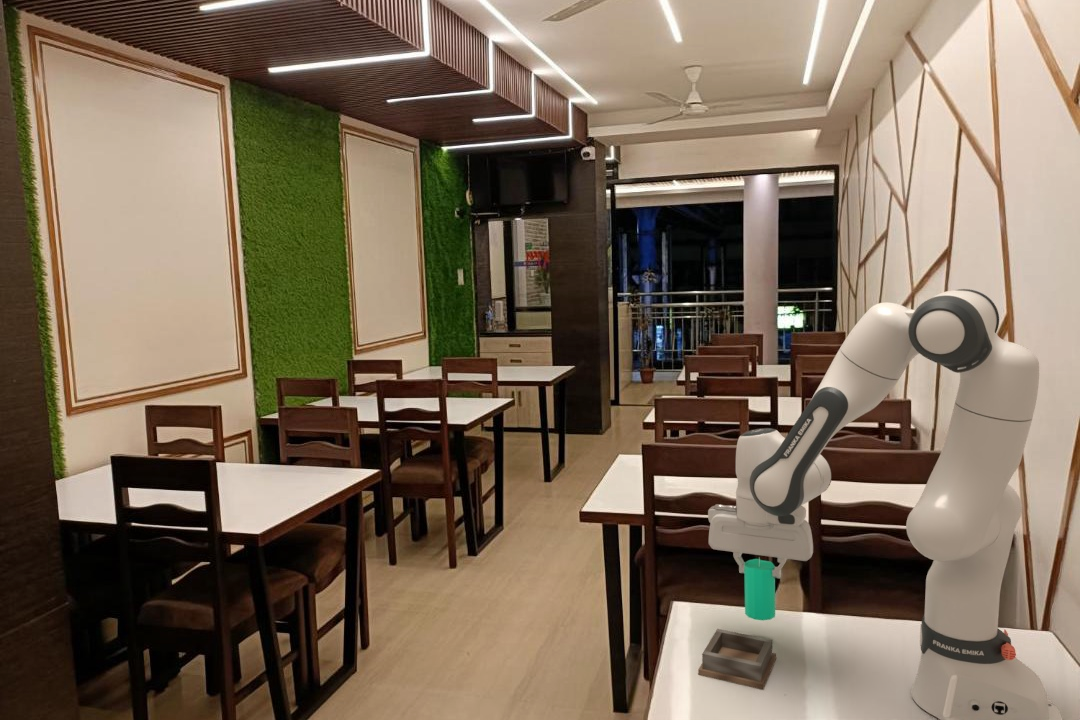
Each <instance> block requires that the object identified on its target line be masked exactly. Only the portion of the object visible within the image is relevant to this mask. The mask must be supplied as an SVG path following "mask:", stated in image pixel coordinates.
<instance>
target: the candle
mask: <svg viewBox="0 0 1080 720" xmlns="http://www.w3.org/2000/svg"><path fill="white" fill-rule="evenodd" d="M744 562H745V565H744V573H743V574H744V577H743V578H744V614H745V616H747V617H748V618H750V619H753V620H756V621H757V620H758V621H769V620H770V621H771V620H772V619H774V618H775V617H776V578H773V577H772V574H773V573H772V570H773V569H774V567H776V566H775V564H774V563H773V562H772V561H769V560H762V559H761V558H760V556H758V558H753V559H749V560H747V561H744Z"/></svg>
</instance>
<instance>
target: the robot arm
mask: <svg viewBox="0 0 1080 720" xmlns="http://www.w3.org/2000/svg"><path fill="white" fill-rule="evenodd" d="M999 326H1000V315H999V310H998V308H997V306H996V304H995V303H994V301H993V300H992V299H991V298H990V297H988V296H987V295H985V293H982V292H980V291H977V290H974V289H968V288H961V289H955V290H954V289H953V290H947V291H944V292H940V293H938V294H936V295H934V296H932V297H931V298H928V299H927V300H925V301H923V302H922V303H921V304H919V306H918V307H917V308H916V309H911V308H908V307H906V306H904V305H902V304H899V303H896V302H887V301H886V302H879V303H876V304H873V305H872V306H871V307H870V308H869V309H868V310H867V311H866V312H865V313H864V314H863V315H862V317H861V318H860V319H859V320H858V321H857V322H856V324H855V325H854V327H852V329H851V331H850V332H849V334H848V335H847V336H846V337H845V339H844V340H843V343H841V345H840V348H839V349H838V350H837V353H836V354H835V356H834V357H833V360H832V361H831V364H830V365H829V367H828V369H827V371H826V373H825V374H824V376H823V378H822V379H821V382H820V384H819V385H818V387H817V389H816V390H815V392H814V394H813V396H811V397H812V398H811V399H810V401H809V402H808V404H807V405H806V407H805V408H804V410H803V411H802V413H801V414H800V415H799V417H798V419H797V420H796V421H795V423H794V425H793V426H792V428H791V429H790V431H789V432H788V434H787V435H786V436H785V437H784V436H783V435H782V434H781V433H780V432H779V431H778V430H777V429H775V428H770V427H764V428H756V429H750V430H747V431H745V432H743V433H742V434H741V435H740V436H739V437H738V440H737V443H736V449H735V475H736V478H737V487H736V491H735V499H736V500H735V501H736V502H735V503H736V504H735V505H730V504H729V505H728V504H727V505H725V504H719V503H717V504H715V505H711V507H710V508H709V509H708V510H707V518H708V522H709V523H710V524H709V531H708V545H709V546H710V548H711V549H713V550H717V551H725V552H732V553H733V555H732V556H733V557H732V558H734V560H735V562H736V563H737V565H738V571H739V573H740V574H744V565H745V562H746V561H744V559H743V556H742V555H743V554H749V555H756V556H763V557H764V556H765V557H771V558H777V563H779V565H778V566H775V567H774V569H773V570H772V573H773V574H772V577H773V578H775V579H781V577H782V568H783V567H784V566H785V564H786V562H787V560H795V561H800V562H801V561H802V562H807V561H808V560H810V559H811V558H812V556H813V553H814V542H813V534H812V529H811V526H810V523H809V522H808V521H807V520H806V517H807V509H806V507H805V506H803V505H805V504H807V503H809V502H811V501H812V500H814V499H815V498H817V497H818V496H820V495H822V494H823V493H824V492H826V491H827V490H828V489H829V487H830V486H831V483H832V468H831V466H830V464H829V462H828V460H827V459H826V457H824V455H822V452H823V450H824V449H825V448H826V446H827V445H828V443H829V442H830V441H831V440H832V438H833V437H834V436H835V435H836V434H837V433H838V432H839V431H840V430H842V429H843V428H844V427H846V426H848V425H849V424H850V423H851V422H853V421H855V420H857V419H858V418H860V417H862V416H864V415H865V414H867V413H869V412H871V411H872V410H874V409H875V408H876V407H877V406H878V405H879V404H880V403H881V402H882V401H883V400H885V399H886V397H887V396H888V395H889V394H890V393H891V392H892V390H893V389H894V388H895V386H896V384H897V383H898V382H899V380H900V378H901V377H902V375H903V374H904V372H905V370H906V369H907V367H908V366H909V364H910V363H911V362H912V360H913V359H914V358H916V356H917V355H919V354H920V355H921V356H922V357H924V358H926V359H928V360H930V361H931V362H934V363H936V364H939V365H940V366H941V367H944V368H946V369H948V370H950V371H951V372H953V373H957V374H958V373H959V384H958V389H957V392H956V397H955V401H954V405H953V409H952V414H951V418H950V421H949V425H948V428H947V433H946V437H945V439H944V440H945V441H944V443H943V447H942V449H941V452H940V453H939V457H938V459H937V461H936V463H935V465H934V466H933V468H932V469H933V470H932V471H931V473H930V475H929V477H928V480H927V482H926V485H925V487H924V489H923V491H922V494H921V496H920V497H919V499H918V501H917V503H915V504H916V505H915V506H914V507H913V508H912V509H911V511H910V512H909V514H908V515H907V520H906V523H905V525H906V526H905V528H906V535H907V537H908V540H910V543H911V544H912V546H913V548H914V549H916V550H917V552H918V553H920V554H921V555H922V556H924V557H925V558H928V559H929V560H931V561H932V560H933V561H932V564H931V566H930V567H929V569H928V571H927V575H926V579H925V594H924V595H925V596H924V597H925V599H924V615H923V617H922V619H921V624H920V632H919V647H920V651H921V654H920V660H919V665H918V669H917V673H916V676H915V680H914V682H913V684H912V686H911V689H910V695H911V697H912V699H913V701H914V702H915V704H917V705H918V706H919V707H920V709H922V710H923V711H926V713H928V714H930V715H931V716H934V717H935V718H937V719H938V720H1063V716H1062V714H1061V712H1060V710H1059V708H1058V707H1057V706H1056V704H1055V703H1054V702H1052V700H1051V699H1050V698H1048V695H1047V692H1046V688H1045V686H1044V684H1043V682H1042V680H1041V678H1040V677H1039V675H1038V674H1037V673H1036V672H1035V671H1034V670H1033V669H1031V668H1030V667H1029V666H1027V664H1024V663H1023V662H1022V661H1021V660H1020V659H1018V657H1017V654H1016V648H1015V647H1014V646H1013V645H1012V640H1011V637H1010V636H1009V633H1008V632H1007V630H1006V629H1004V631H1002V630H1001V629H999V628H998V627H999V613H1000V596H1001V595H1000V594H1001V589H1002V588H1001V587H1002V583H1003V579H1004V575H1005V571H1006V567H1007V563H1008V560H1009V556H1010V552H1011V547H1012V542H1013V539H1014V535H1015V534H1014V533H1015V530H1016V528H1017V526H1018V523H1019V521H1020V519H1021V516H1022V514H1023V513H1022V512H1023V504H1022V500H1021V498H1020V496H1019V494H1018V493H1017V491H1016V490H1015V489H1014V488H1013V487H1012V486H1011V485H1010V484H1009V482H1010V481H1011V479H1012V477H1013V476H1014V474H1015V472H1016V471H1017V469H1018V468H1019V466H1020V464H1021V461H1022V459H1023V454H1024V451H1025V447H1026V444H1027V439H1028V437H1029V432H1030V429H1031V425H1032V421H1033V419H1034V414H1035V409H1036V404H1037V399H1038V393H1039V382H1040V361H1039V359H1038V357H1037V356H1036V354H1035V353H1034V352H1033V351H1031V349H1029V348H1027V347H1025V346H1024V345H1021V344H1018V343H1016V342H1011V341H1007V340H1006V341H1005V339H1003V338H1001V337H1000V336H999V335H998V333H997V331H998V330H999Z"/></svg>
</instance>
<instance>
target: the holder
mask: <svg viewBox="0 0 1080 720" xmlns="http://www.w3.org/2000/svg"><path fill="white" fill-rule="evenodd" d="M773 648H774V647H773V639H770V638H765V637H761V636H756V635H752V634H751V635H750V634H746V633H740V632H735V631H732V630H726V629H722V628H717V629H716V630H715V632H714V633H713V635H712V637H711V638H710V640H709V642H708V643H707V645H706V647H705V648H704V650H703V651H702V654H701V655H702V657H701V659H702V662H701V664H700V666H699V667H698V670H697V671H698V673H697V674H698V675H699V676H703V677H707V678H712V679H717V680H721V681H725V682H730V683H734V684H738V685H742V686H747V687H749V688H754V687H755V689H759V690H764V688H765V686H766V684H767V681H768V678H769V676H770V674H771V671H772V669H773V667H774V665H775V662H776V659H777V653H776V652H773Z"/></svg>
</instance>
